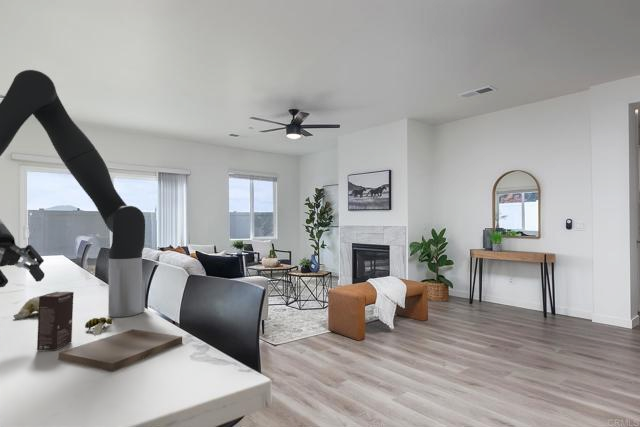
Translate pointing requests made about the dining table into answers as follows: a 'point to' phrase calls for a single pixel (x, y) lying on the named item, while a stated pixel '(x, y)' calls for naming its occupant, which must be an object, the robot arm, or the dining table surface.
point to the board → (120, 349)
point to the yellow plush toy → (28, 308)
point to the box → (55, 320)
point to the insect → (97, 324)
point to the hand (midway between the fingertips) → (23, 281)
